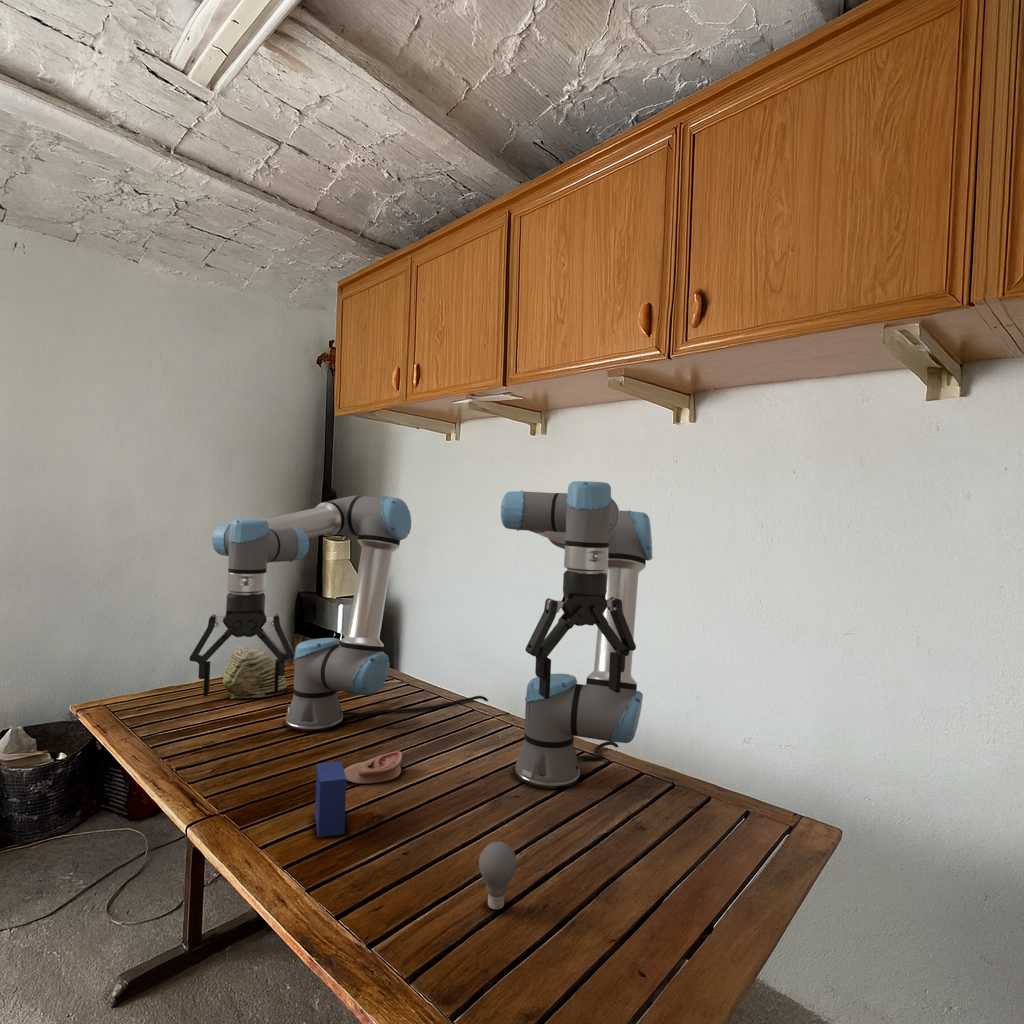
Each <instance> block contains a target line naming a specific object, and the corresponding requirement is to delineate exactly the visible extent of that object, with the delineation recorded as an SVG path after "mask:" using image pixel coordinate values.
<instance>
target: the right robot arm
mask: <svg viewBox="0 0 1024 1024" xmlns="http://www.w3.org/2000/svg"><path fill="white" fill-rule="evenodd" d="M500 521H501V524H502V525H503V527H504V528H505V529H508V530H516V531H517V532H520V531H529V532H531V533H534V534H536V535H539V536H541V537H544V538H547V540H549V542H550V543H551V544H552V545H553V546H556V547H557V548H560V549H563V550H564V555H563V557H564V558H563V568H565V569H566V570H565V571H564V572H563V577H562V579H563V580H562V583H563V584H562V594H563V595H562V599H561V600H556V599H552V598H546V599H545V602H544V608H543V612H542V614H541V616H540V618H539V620H538V622H537V624H536V626H535V628H534V630H533V633H532V634H531V636H530V638H529V640H528V642H527V644H526V646H525V653H528V654H529V655H530V656H532V657H534V658H535V670H534V674H535V676H536V677H533V678H532V679H531V680H529V682H528V683H527V686H526V694H525V698H524V700H525V701H524V702H525V711H524V712H525V713H524V734H523V735H524V740H523V743H522V746H521V748H520V751H519V754H518V756H517V760H516V762H515V767H514V774H515V777H516V778H517V779H518V780H519V781H520V782H522V783H524V784H526V785H528V786H531V787H534V788H539V789H545V790H557V789H559V790H560V789H565V788H569V787H572V786H574V785H576V784H577V783H579V781H580V778H581V768H580V763H579V761H581V760H594V761H595V760H601V759H602V758H603V754H602V753H601V751H599V750H600V749H601V748H603V747H607V746H612V747H614V748H619V747H620V746H619V744H629V743H631V742H632V741H633V740H634V739H635V736H636V732H637V730H638V726H639V721H640V717H641V713H642V712H641V711H642V705H643V699H644V694H643V693H642V691H640V690H637V689H638V682H637V681H636V680H635V679H634V677H633V676H632V668H633V666H632V665H633V653H634V651H635V650H636V649H637V646H636V645H637V644H636V643H635V640H634V638H635V627H636V613H637V612H636V611H637V601H638V587H639V586H638V585H639V575H640V573H641V572H642V571H643V570H645V569H646V566H647V565H646V564H647V562H648V561H651V560H653V538H652V537H653V536H652V528H651V527H652V526H651V520H650V517H649V515H648V514H647V513H645V512H644V511H634V510H633V511H632V510H620V509H619V506H618V504H617V502H616V501H615V500H614V499H613V497H612V487H611V485H610V483H608V482H605V481H589V480H587V481H585V480H583V481H582V480H575V481H572V482H569V484H568V486H567V492H544V491H543V492H541V491H524V490H519V491H517V490H516V491H513V490H512V491H508V492H506V493H505V494H504V495H503V497H502V499H501V504H500ZM646 561H647V562H646ZM560 609H561V610H562V612H563V613H562V614H561V616H560V617H559V618H558V620H557V623H556V624H555V625H554V626H553V628H552V629H551V627H552V625H553V624H554V620H555V619H556V616H557V614H558V613H559V612H560ZM585 625H586V626H596V627H597V630H596V631H597V632H596V643H595V653H594V654H595V655H594V657H595V658H594V666H593V670H592V672H591V673H589V674H588V675H587V676H586V681H585V684H581V683H578V680H577V677H576V676H574V675H573V674H569V673H552V659H551V658H550V657H549V655H550V654H551V653H552V652H553V650H554V649H555V648H556V647H557V646H558V644H559V643H560V642H561V640H562V639H563V638H564V636H565V635H566V634H567V633H568V632H569V630H571V629H572V628H574V626H577V627H583V626H585ZM550 629H551V631H550ZM549 631H550V632H549ZM575 737H579V738H586V739H592V740H597V741H598V740H599V741H604V742H602V743H600V744H598V745H596V746H594V748H593V751H594V753H595V754H596V755H577V753H576V749H575V745H574V744H575V743H574V741H575V740H574V738H575ZM618 743H619V744H618Z"/></svg>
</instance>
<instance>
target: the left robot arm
mask: <svg viewBox="0 0 1024 1024" xmlns="http://www.w3.org/2000/svg"><path fill="white" fill-rule="evenodd" d="M411 529H412V514H411V511H410V509H409V507H408V505H407V503H406V502H405V501H404V500H403V499H401V498H400V497H399V498H398V497H393V496H387V495H385V496H380V495H379V496H375V495H373V496H372V495H350V496H345V497H341V498H336V499H332V500H327V501H324V502H320V503H318V505H316V506H315V507H314V508H313V507H312V508H309V509H304V510H300V511H296V512H291V513H287V514H282V515H279V516H274V517H269V518H265V519H252V518H251V519H250V518H249V519H248V518H247V519H246V518H237V519H234V520H233V521H231V523H230V524H229V523H228V524H221V525H219V526H218V527H217V528H216V529H215V530H214V532H213V534H212V537H211V541H212V542H211V543H212V548H213V550H214V552H216V553H217V554H218V555H220V556H223V557H228V563H227V564H228V565H227V566H228V567H227V581H226V590H227V591H228V592H229V593H227V594H226V602H225V603H226V605H225V615H224V616H221V615H216V614H214V613H213V614H211V615H210V616H209V617H208V623H207V627H206V629H205V630H204V632H203V634H202V636H201V637H200V639H199V641H198V642H197V644H196V646H195V647H194V649H193V651H192V652H191V654H190V655H189V658H188V659H189V661H190V662H193V663H194V662H195V663H197V665H198V679H199V680H203V697H208V695H209V694H210V682H211V681H210V679H211V661H210V660H209V659H210V658H211V657H212V656H213V655H214V654H215V653H216V652H217V651H218V650H219V649H220V648H221V647H222V646H223V645H224V644H225V642H226V641H227V640H229V639H230V638H231V636H233V637H235V638H243V637H245V638H253V637H254V636H256V637H257V638H258V639H260V640H261V642H262V643H263V644H264V645H265V646H266V647H267V648H268V649H269V651H270V652H271V653H272V654H273V655H274V656H275V657H276V659H275V662H274V663H275V682H274V693H278V678H279V676H285V669H286V668H285V667H286V662H287V660H290V659H294V661H293V662H294V663H293V665H294V667H293V695H292V696H293V697H292V699H291V702H290V704H289V706H288V707H287V713H286V715H285V726H286V728H287V729H289V730H291V731H294V732H295V731H296V732H301V733H316V732H325V731H329V730H332V729H335V728H337V727H339V726H340V725H342V723H343V722H344V716H349V717H352V716H353V717H366V716H367V717H368V716H372V715H377V714H384V713H386V714H387V713H407V712H418V711H429V710H434V709H440V708H444V707H445V708H446V707H449V706H453V705H457V704H460V703H465V702H471V701H474V700H483V701H484V702H489V699H488V697H486V696H483V695H476V696H471V697H465V698H460V699H457V700H453V701H448V702H445V703H440V704H434V705H427V706H420V707H407V708H386V709H377V710H371V711H365V712H352V711H343V709H342V706H341V702H340V699H339V695H338V692H344V693H350V694H353V695H356V696H359V695H361V696H372V695H374V694H376V693H377V692H378V691H380V690H381V688H382V687H383V685H384V684H385V682H386V680H387V678H388V675H389V672H390V667H391V665H390V663H391V662H390V661H389V660H390V658H389V655H387V654H386V653H385V652H384V648H385V645H384V643H383V642H382V641H381V639H380V637H381V630H382V623H383V618H384V611H385V604H386V598H387V592H388V586H389V578H390V573H391V568H392V567H391V566H392V561H393V560H392V559H393V555H394V552H395V551H396V550H397V549H399V548H400V544H401V541H403V540H405V539H406V538H408V536H409V534H410V533H411ZM338 535H340V536H342V535H343V536H355V537H357V543H358V544H359V546H360V547H361V552H360V557H359V563H358V570H357V575H356V581H355V588H354V594H353V598H352V599H353V600H352V605H351V611H350V617H349V618H350V619H349V624H348V630H347V634H346V636H344V637H343V638H342V639H340V640H339V638H336V637H322V638H313V639H307V640H304V641H302V642H299V643H298V644H297V645H296V647H295V652H294V649H293V647H292V645H291V643H290V641H289V639H288V637H287V635H286V633H285V630H284V629H283V627H282V624H281V618H280V614H279V613H274V614H273V615H266V610H265V608H266V594H265V591H266V589H267V569H268V568H267V567H268V563H279V562H280V563H282V562H290V563H291V562H293V561H299V560H301V559H303V558H304V557H305V556H306V555H307V554H308V551H309V548H310V541H309V539H312V538H315V537H320V536H324V537H332V536H338ZM221 623H223V625H224V626H225V627H226V628H227V629H226V630H225V631H224V632H223V633H222V634H221V636H219V637H218V638H217V639H216V641H214V643H213V644H212V645H211V646H210V647H209V648H208V649H206V651H205V652H204V654H202V655H201V654H200V653H201V651H202V649H203V648H204V646H205V645H206V643H207V641H208V639H209V638H210V636H211V634H212V632H213V631H214V629H215V628H216V627H217V628H218V626H219V625H220V624H221ZM266 623H269V625H270V626H271V627H274V630H275V632H276V635H277V637H278V639H279V641H280V643H281V645H282V647H283V649H284V651H285V652H283V651H282V649H280V648H279V646H278V645H277V644H276V643H275V641H274V640H272V639H271V637H270V636H269V635H268V634H267V632H266V631H265V629H264V628H263V627H264V626H265V624H266Z"/></svg>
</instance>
